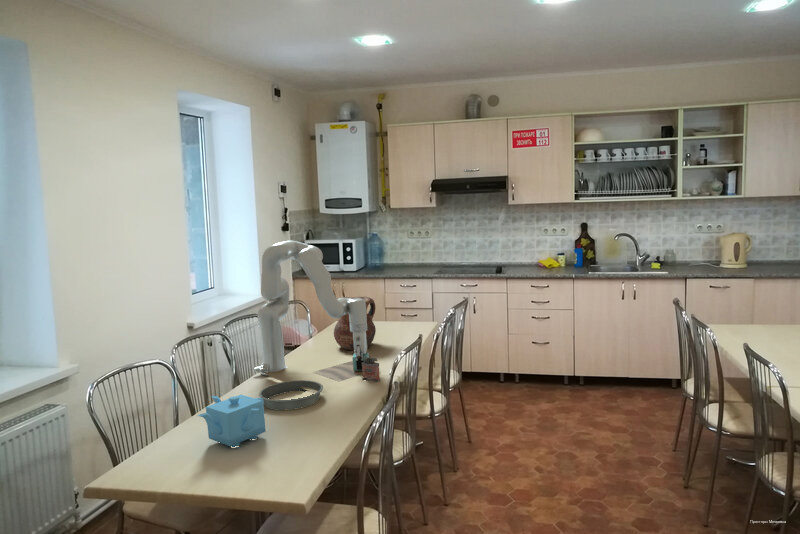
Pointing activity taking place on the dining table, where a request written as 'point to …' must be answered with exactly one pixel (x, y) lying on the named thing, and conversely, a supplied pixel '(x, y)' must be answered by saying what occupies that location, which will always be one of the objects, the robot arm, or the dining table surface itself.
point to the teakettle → (235, 419)
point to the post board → (340, 371)
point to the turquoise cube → (355, 360)
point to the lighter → (370, 369)
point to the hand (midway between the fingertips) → (361, 366)
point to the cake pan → (289, 387)
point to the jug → (343, 327)
